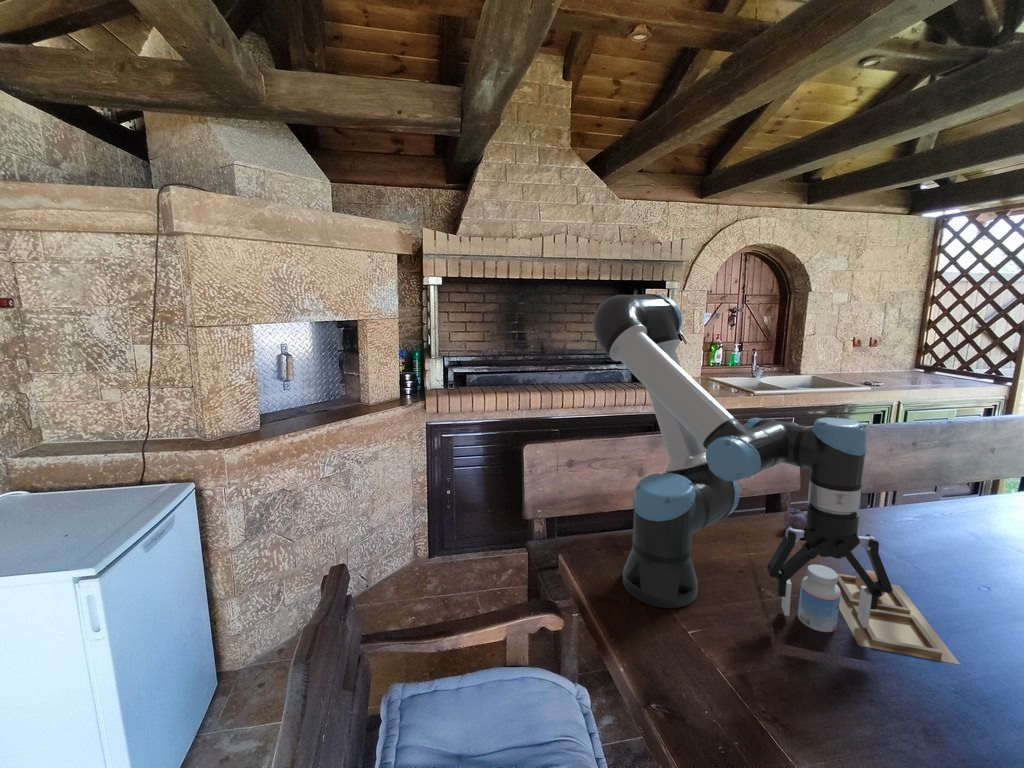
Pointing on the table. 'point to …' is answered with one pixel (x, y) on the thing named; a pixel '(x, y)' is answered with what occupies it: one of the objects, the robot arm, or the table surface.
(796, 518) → the skull
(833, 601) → the pill bottle
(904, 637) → the tray
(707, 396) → the robot arm
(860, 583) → the egg
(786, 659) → the table surface
